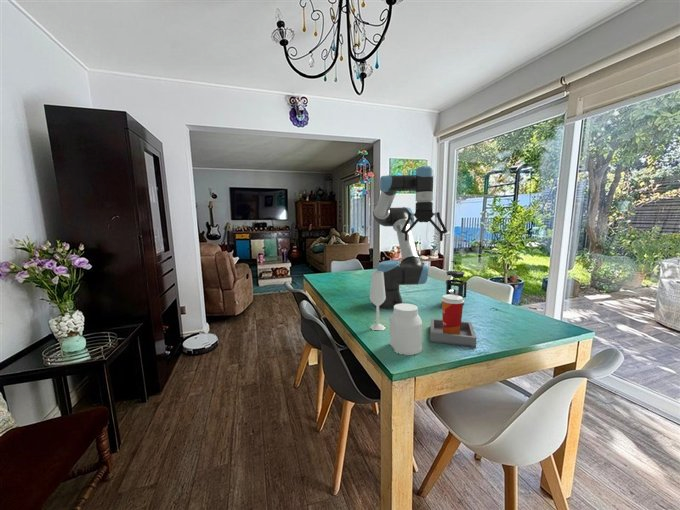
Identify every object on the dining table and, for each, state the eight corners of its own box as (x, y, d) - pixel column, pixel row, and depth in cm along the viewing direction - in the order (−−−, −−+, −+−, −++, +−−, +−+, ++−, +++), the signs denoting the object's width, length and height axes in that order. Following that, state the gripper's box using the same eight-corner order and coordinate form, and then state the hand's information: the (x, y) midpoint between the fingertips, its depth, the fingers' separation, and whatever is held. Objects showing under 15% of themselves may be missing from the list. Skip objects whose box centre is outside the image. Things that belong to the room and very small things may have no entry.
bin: (430, 341, 102) (430, 332, 102) (430, 326, 116) (431, 318, 116) (476, 347, 97) (476, 337, 96) (470, 330, 111) (471, 322, 111)
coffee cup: (445, 328, 112) (446, 292, 111) (466, 334, 107) (467, 296, 105) (436, 334, 107) (437, 297, 105) (457, 341, 101) (458, 301, 99)
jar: (425, 354, 93) (425, 311, 91) (397, 356, 92) (398, 313, 90) (411, 339, 104) (412, 301, 102) (387, 341, 103) (387, 302, 101)
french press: (450, 307, 141) (451, 262, 138) (440, 301, 150) (441, 260, 147) (470, 305, 143) (472, 261, 140) (459, 299, 152) (460, 259, 149)
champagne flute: (366, 328, 116) (366, 272, 112) (374, 323, 121) (374, 270, 118) (380, 332, 111) (380, 274, 108) (388, 326, 117) (388, 271, 114)
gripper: (395, 202, 126) (395, 248, 129) (454, 200, 118) (452, 249, 120) (397, 203, 133) (397, 246, 136) (453, 201, 125) (451, 247, 127)
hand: (423, 248), depth 128 cm, fingers open, 13 cm apart
